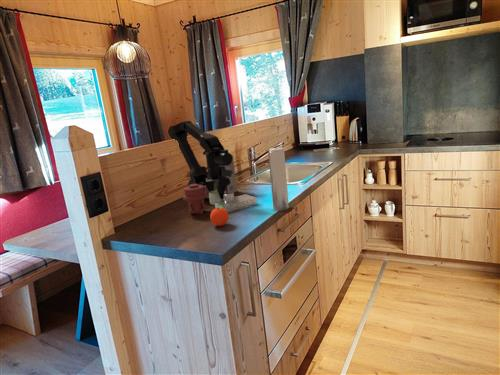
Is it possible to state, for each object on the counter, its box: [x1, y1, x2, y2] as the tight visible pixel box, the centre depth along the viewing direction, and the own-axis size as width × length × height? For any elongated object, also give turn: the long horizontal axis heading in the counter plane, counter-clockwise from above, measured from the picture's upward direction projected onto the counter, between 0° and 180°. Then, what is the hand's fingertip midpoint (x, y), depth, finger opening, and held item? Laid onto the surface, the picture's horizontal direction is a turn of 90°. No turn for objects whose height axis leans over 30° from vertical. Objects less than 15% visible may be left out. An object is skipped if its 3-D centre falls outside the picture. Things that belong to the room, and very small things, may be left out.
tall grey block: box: [267, 147, 290, 212], centre depth 146 cm, size 6×6×25 cm
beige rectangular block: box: [214, 192, 258, 213], centre depth 157 cm, size 9×16×6 cm, turn 123°
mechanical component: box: [182, 184, 208, 215], centre depth 154 cm, size 12×10×10 cm
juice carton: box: [220, 153, 238, 193], centre depth 181 cm, size 7×7×22 cm
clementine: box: [209, 207, 229, 227], centre depth 136 cm, size 8×7×7 cm
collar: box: [208, 189, 225, 206], centre depth 167 cm, size 8×8×5 cm
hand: (217, 197), depth 167 cm, fingers open, 9 cm apart
